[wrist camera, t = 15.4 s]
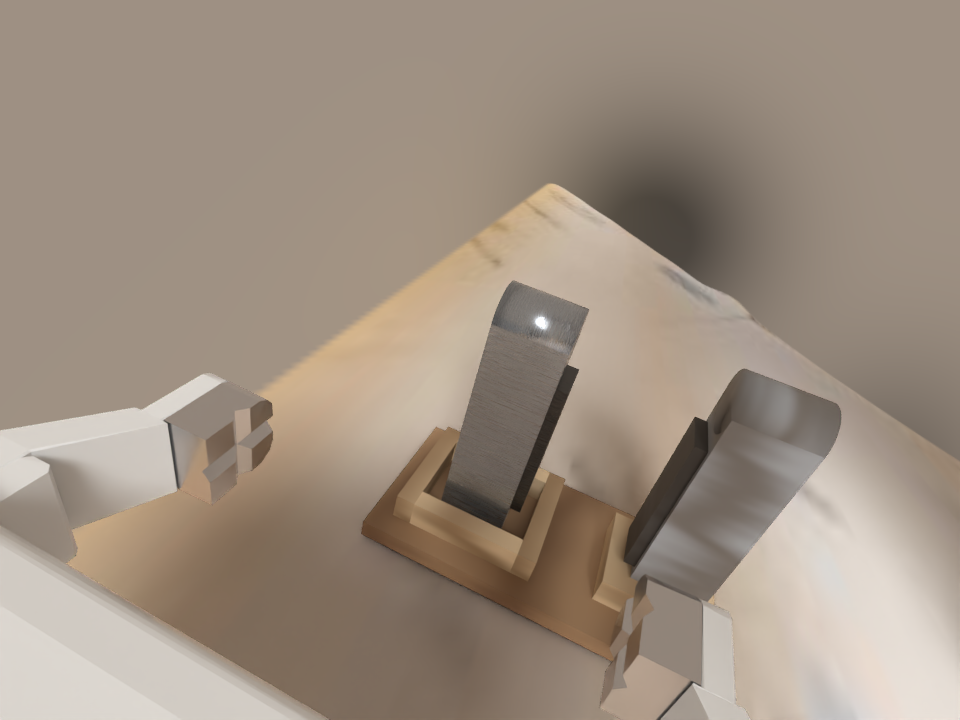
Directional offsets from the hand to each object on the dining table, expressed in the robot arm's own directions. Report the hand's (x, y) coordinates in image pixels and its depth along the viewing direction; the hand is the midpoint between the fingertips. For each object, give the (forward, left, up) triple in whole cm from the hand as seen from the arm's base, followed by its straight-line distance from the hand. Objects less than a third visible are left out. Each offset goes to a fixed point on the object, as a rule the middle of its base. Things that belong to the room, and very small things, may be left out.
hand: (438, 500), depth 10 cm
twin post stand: (-13, -5, -16) cm, 21 cm away
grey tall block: (-11, -9, -15) cm, 20 cm away
